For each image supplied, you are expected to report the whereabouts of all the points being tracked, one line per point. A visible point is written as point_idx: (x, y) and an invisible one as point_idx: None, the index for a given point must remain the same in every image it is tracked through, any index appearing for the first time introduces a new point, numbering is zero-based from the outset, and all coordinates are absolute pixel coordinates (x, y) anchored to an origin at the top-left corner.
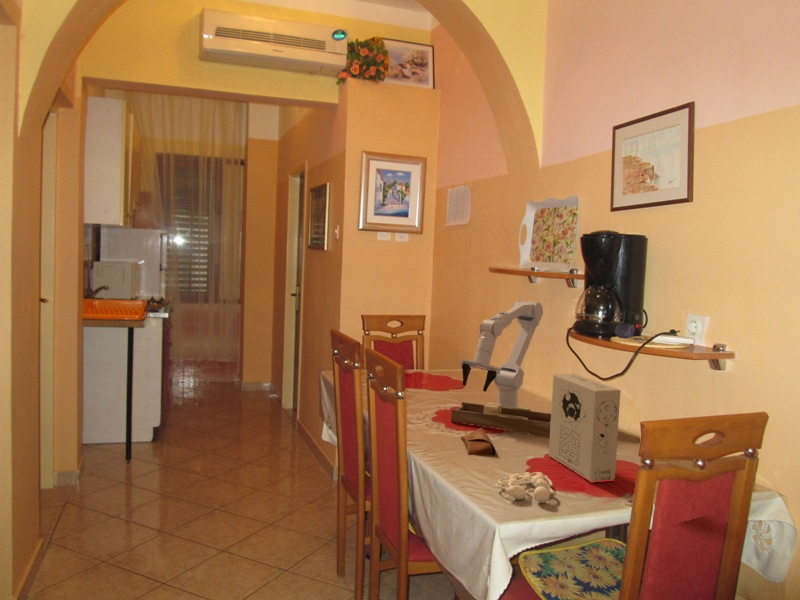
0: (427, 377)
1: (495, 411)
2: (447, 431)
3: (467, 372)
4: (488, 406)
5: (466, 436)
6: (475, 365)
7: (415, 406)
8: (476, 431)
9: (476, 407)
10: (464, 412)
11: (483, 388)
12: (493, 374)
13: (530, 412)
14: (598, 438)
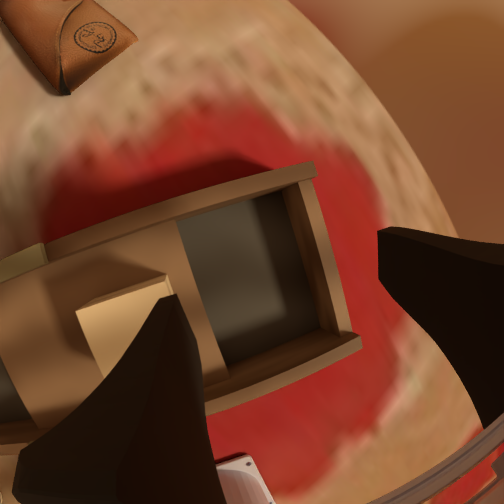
0: None
1: (95, 302)
2: (218, 61)
3: (480, 307)
4: (134, 292)
5: (100, 15)
6: (496, 466)
7: None
8: (62, 16)
9: (279, 365)
10: (240, 179)
11: (172, 300)
12: (26, 456)
13: (28, 440)
14: None
